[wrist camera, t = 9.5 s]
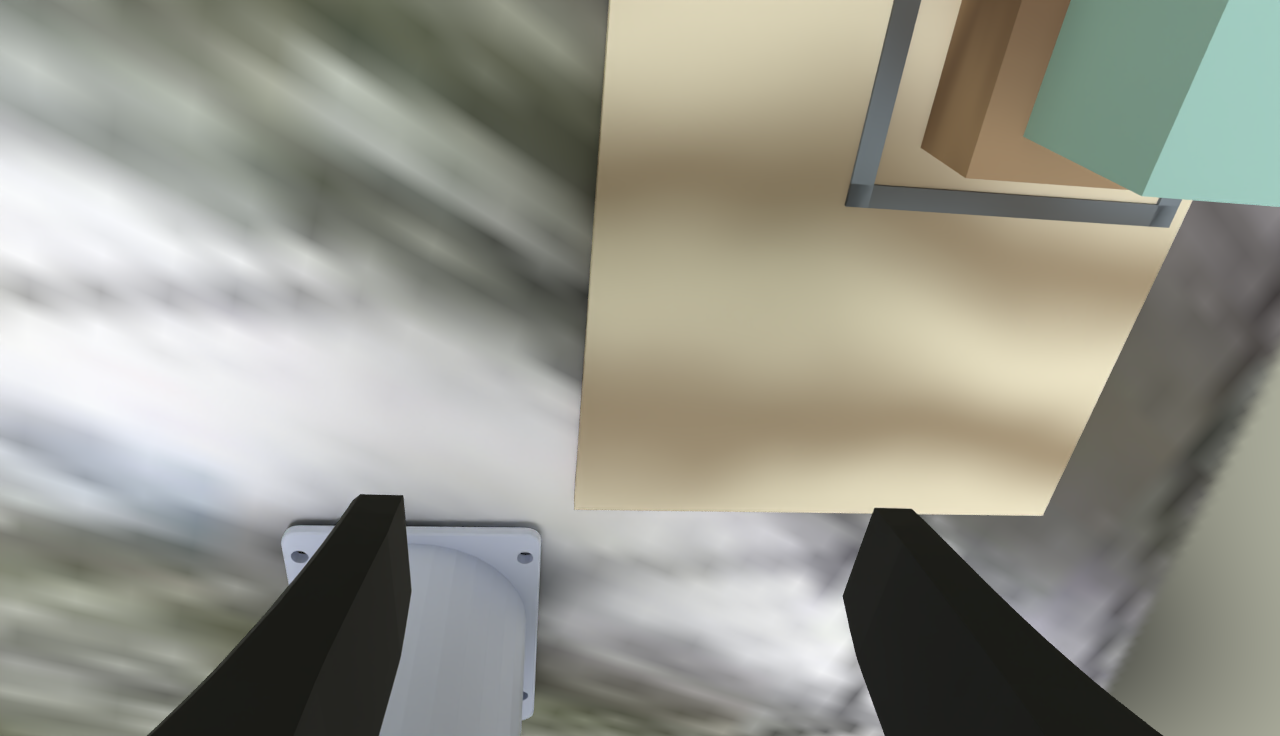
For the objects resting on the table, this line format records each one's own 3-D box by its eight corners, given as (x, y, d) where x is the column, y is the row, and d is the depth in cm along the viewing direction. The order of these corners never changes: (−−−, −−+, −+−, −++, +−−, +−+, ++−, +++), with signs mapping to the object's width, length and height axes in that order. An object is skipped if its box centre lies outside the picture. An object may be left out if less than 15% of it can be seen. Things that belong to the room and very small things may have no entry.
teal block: (1188, 150, 17) (1342, 211, 14) (1022, 136, 17) (1141, 196, 13) (1281, -51, 15) (1488, -38, 12) (1096, -74, 15) (1258, -67, 11)
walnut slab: (1138, 164, 20) (1207, 195, 18) (920, 147, 19) (965, 178, 17) (1253, -105, 17) (1352, -105, 15) (1000, -137, 16) (1067, -143, 14)
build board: (1034, 505, 27) (1044, 517, 26) (574, 499, 25) (574, 511, 24) (1363, -202, 17) (1389, -205, 16) (630, -312, 15) (633, -319, 14)
